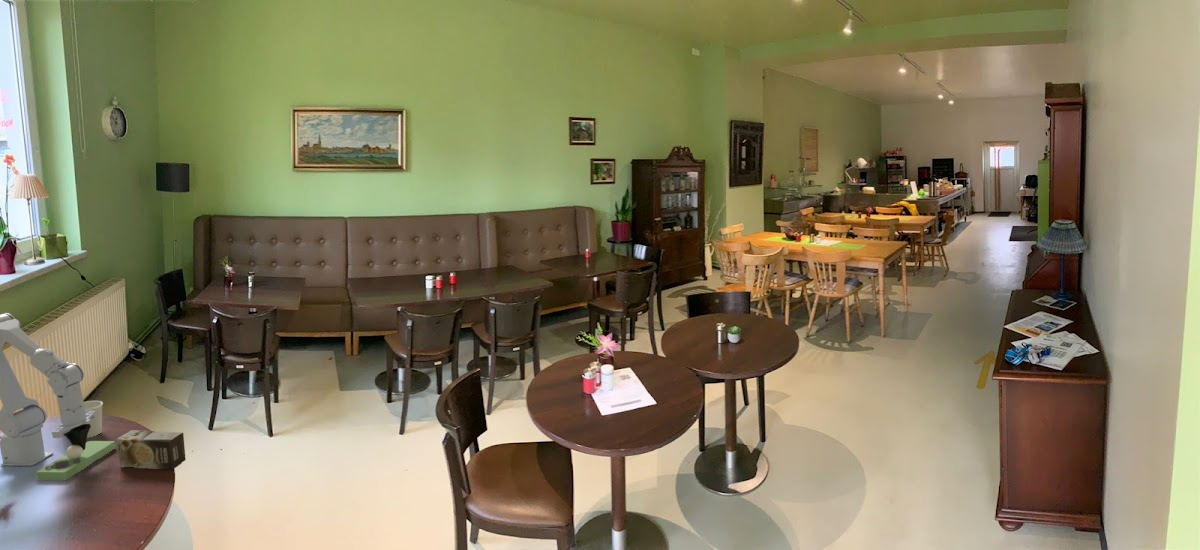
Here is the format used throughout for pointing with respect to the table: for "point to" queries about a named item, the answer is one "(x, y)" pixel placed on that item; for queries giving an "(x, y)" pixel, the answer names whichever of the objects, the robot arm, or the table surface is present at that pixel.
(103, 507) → the table surface
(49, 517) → the table surface
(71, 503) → the table surface
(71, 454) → the ball
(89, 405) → the dixie cup
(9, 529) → the table surface
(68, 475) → the putting mat
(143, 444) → the coffee box
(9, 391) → the robot arm
